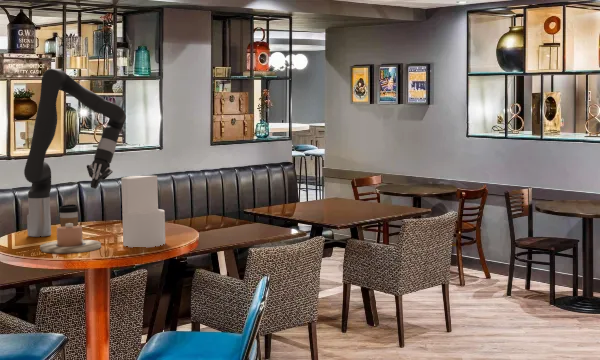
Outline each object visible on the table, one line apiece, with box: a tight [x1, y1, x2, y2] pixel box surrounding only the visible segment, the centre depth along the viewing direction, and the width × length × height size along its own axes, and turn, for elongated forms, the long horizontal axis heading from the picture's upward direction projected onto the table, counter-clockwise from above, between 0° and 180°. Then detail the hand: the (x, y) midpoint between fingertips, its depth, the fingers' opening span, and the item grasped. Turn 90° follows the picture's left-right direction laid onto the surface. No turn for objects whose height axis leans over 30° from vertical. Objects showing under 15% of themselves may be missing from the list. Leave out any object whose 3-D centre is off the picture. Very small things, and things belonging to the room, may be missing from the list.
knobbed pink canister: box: [56, 223, 84, 247], centre depth 339 cm, size 10×10×9 cm
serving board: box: [39, 239, 102, 254], centre depth 340 cm, size 24×24×2 cm
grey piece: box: [120, 175, 166, 248], centre depth 347 cm, size 17×17×28 cm
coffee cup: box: [58, 204, 79, 227], centre depth 360 cm, size 8×8×15 cm
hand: (93, 188), depth 359 cm, fingers closed
